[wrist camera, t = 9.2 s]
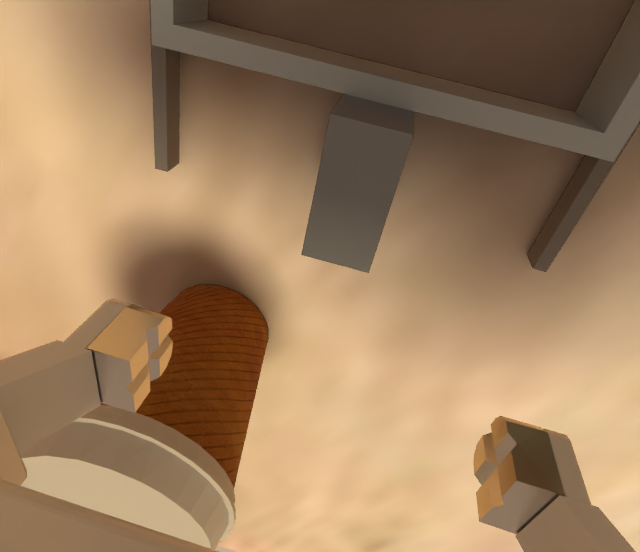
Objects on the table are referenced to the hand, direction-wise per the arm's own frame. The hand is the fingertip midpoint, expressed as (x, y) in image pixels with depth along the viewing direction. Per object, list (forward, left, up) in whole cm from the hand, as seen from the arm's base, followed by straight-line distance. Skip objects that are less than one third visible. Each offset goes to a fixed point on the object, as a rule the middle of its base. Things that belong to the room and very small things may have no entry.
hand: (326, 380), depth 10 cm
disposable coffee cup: (+7, +11, -12) cm, 17 cm away
